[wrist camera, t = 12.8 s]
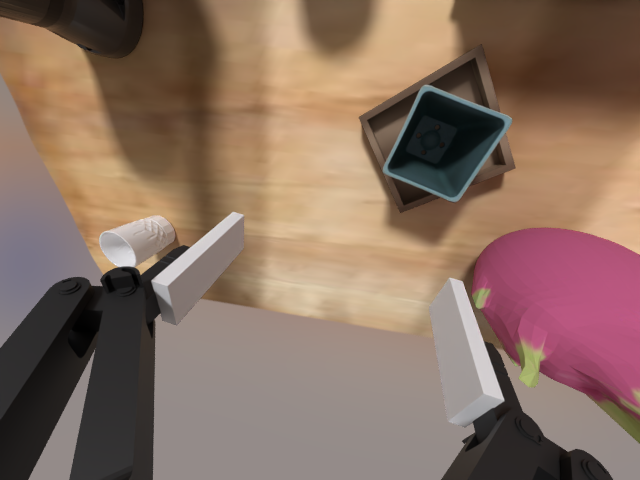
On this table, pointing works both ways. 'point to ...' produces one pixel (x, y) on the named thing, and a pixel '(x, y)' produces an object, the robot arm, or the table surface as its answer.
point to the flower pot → (459, 143)
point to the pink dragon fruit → (567, 313)
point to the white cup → (136, 240)
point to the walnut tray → (389, 117)
